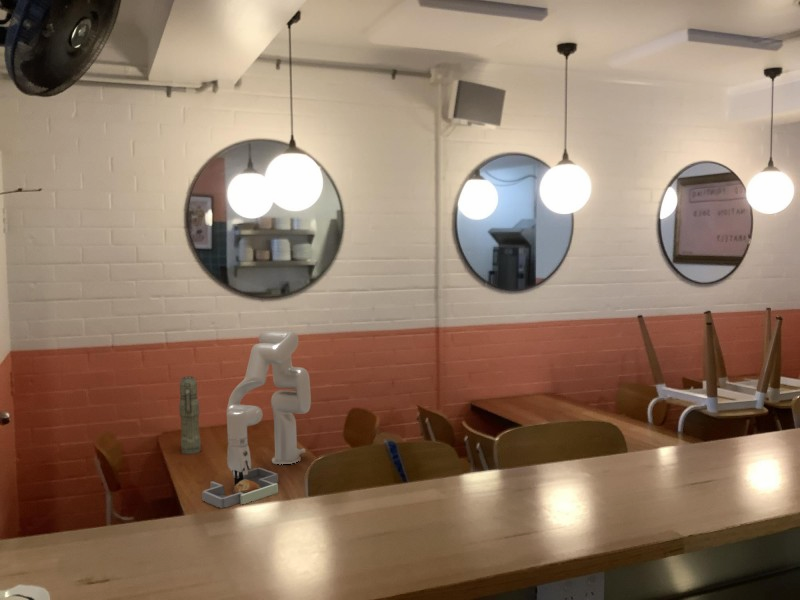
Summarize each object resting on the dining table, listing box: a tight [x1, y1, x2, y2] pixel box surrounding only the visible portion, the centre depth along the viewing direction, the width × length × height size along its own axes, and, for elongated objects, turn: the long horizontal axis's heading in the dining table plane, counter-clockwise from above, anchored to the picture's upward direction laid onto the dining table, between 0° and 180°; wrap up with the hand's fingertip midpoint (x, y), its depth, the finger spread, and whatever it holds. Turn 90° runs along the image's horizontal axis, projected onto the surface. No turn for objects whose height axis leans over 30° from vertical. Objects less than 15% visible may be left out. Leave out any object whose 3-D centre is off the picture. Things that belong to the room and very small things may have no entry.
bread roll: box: [232, 479, 261, 495], centre depth 279 cm, size 10×10×8 cm
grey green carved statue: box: [178, 376, 202, 456], centre depth 335 cm, size 9×12×35 cm
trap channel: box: [201, 467, 279, 509], centre depth 283 cm, size 31×22×4 cm
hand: (239, 487), depth 285 cm, fingers closed
